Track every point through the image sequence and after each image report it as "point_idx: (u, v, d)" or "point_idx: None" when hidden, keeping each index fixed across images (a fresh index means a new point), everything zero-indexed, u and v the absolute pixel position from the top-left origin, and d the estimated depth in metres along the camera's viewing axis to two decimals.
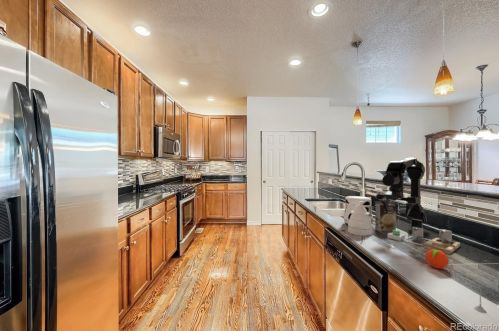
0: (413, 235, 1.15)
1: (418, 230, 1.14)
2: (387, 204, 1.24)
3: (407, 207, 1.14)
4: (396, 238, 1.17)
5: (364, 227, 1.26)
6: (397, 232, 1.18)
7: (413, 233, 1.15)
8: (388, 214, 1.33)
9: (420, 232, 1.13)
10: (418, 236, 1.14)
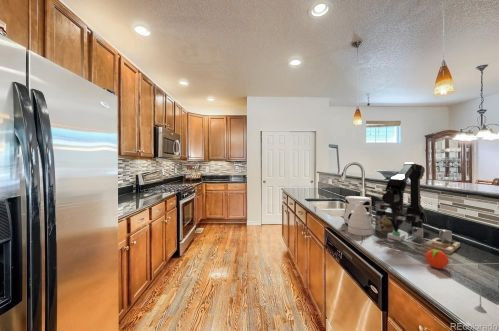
0: (413, 235, 1.15)
1: (418, 230, 1.14)
2: None
3: (397, 223, 1.18)
4: (396, 238, 1.17)
5: (364, 227, 1.26)
6: (397, 233, 1.18)
7: (413, 233, 1.15)
8: None
9: (420, 232, 1.13)
10: (418, 236, 1.14)
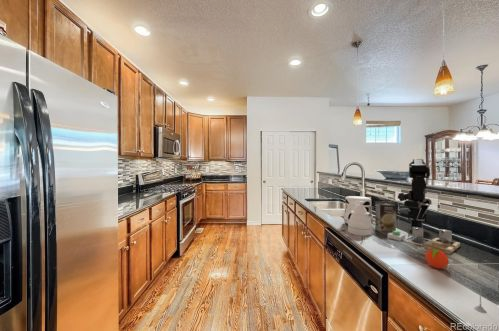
0: (413, 235, 1.15)
1: (418, 230, 1.14)
2: (422, 209, 1.17)
3: None
4: (396, 238, 1.17)
5: (364, 227, 1.26)
6: (397, 233, 1.18)
7: (413, 233, 1.15)
8: (388, 214, 1.33)
9: (420, 232, 1.13)
10: (418, 236, 1.14)
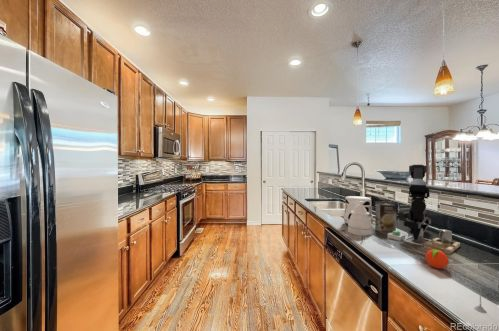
0: None
1: None
2: None
3: None
4: (396, 238, 1.17)
5: (364, 227, 1.26)
6: (397, 233, 1.18)
7: None
8: (388, 214, 1.33)
9: (420, 232, 1.13)
10: None
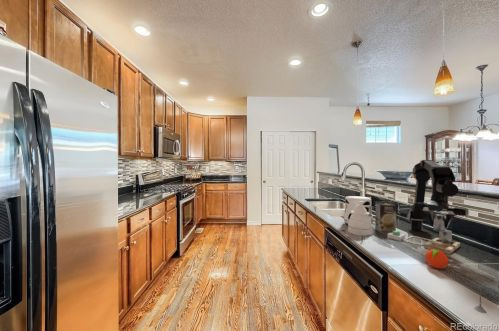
0: (444, 224, 1.02)
1: None
2: (432, 216, 1.07)
3: (448, 218, 1.01)
4: (396, 238, 1.17)
5: (364, 227, 1.26)
6: (397, 233, 1.18)
7: (444, 222, 1.02)
8: (388, 214, 1.33)
9: None
10: None
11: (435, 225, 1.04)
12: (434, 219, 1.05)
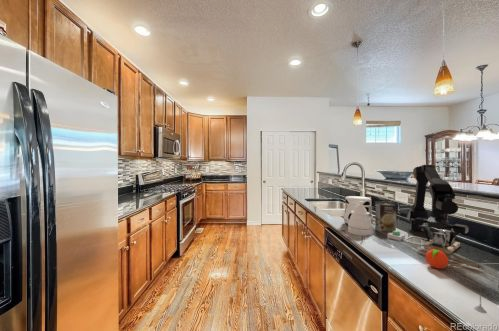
0: (443, 243, 1.03)
1: None
2: (429, 231, 1.09)
3: (451, 236, 1.00)
4: (396, 238, 1.17)
5: (364, 227, 1.26)
6: (397, 233, 1.18)
7: (443, 241, 1.03)
8: (388, 214, 1.33)
9: None
10: None
11: (435, 244, 1.04)
12: (434, 237, 1.05)
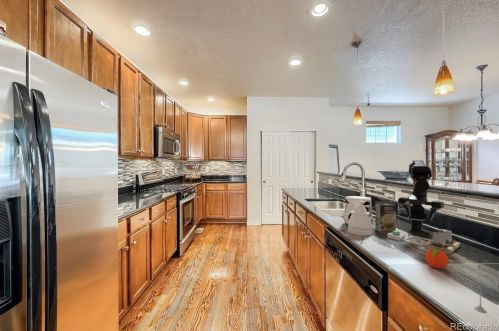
0: (443, 243, 1.03)
1: None
2: (409, 208, 1.23)
3: (431, 211, 1.13)
4: (396, 238, 1.17)
5: (364, 227, 1.26)
6: (397, 233, 1.18)
7: (443, 241, 1.03)
8: (388, 214, 1.33)
9: None
10: None
11: (435, 244, 1.04)
12: (434, 238, 1.05)
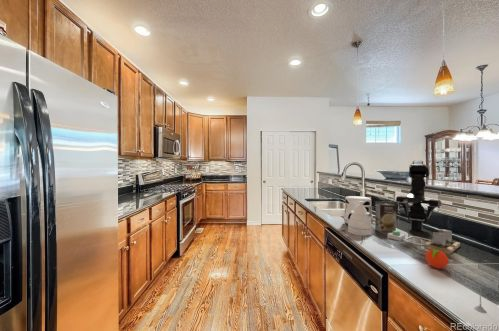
0: (443, 243, 1.03)
1: None
2: (407, 207, 1.25)
3: (429, 210, 1.15)
4: (396, 238, 1.17)
5: (364, 227, 1.26)
6: (397, 233, 1.18)
7: (443, 241, 1.03)
8: (388, 214, 1.33)
9: None
10: None
11: (435, 244, 1.04)
12: (434, 238, 1.05)
